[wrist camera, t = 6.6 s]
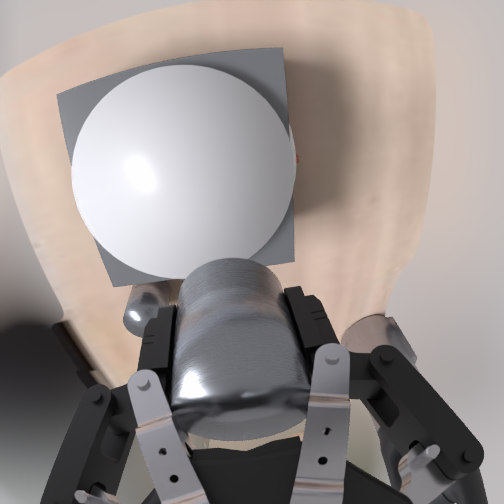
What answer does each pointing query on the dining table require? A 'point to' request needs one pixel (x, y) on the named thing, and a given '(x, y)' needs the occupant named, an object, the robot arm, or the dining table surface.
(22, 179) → the dining table surface
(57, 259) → the dining table surface
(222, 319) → the cylinder
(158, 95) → the scale
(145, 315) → the cylinder
